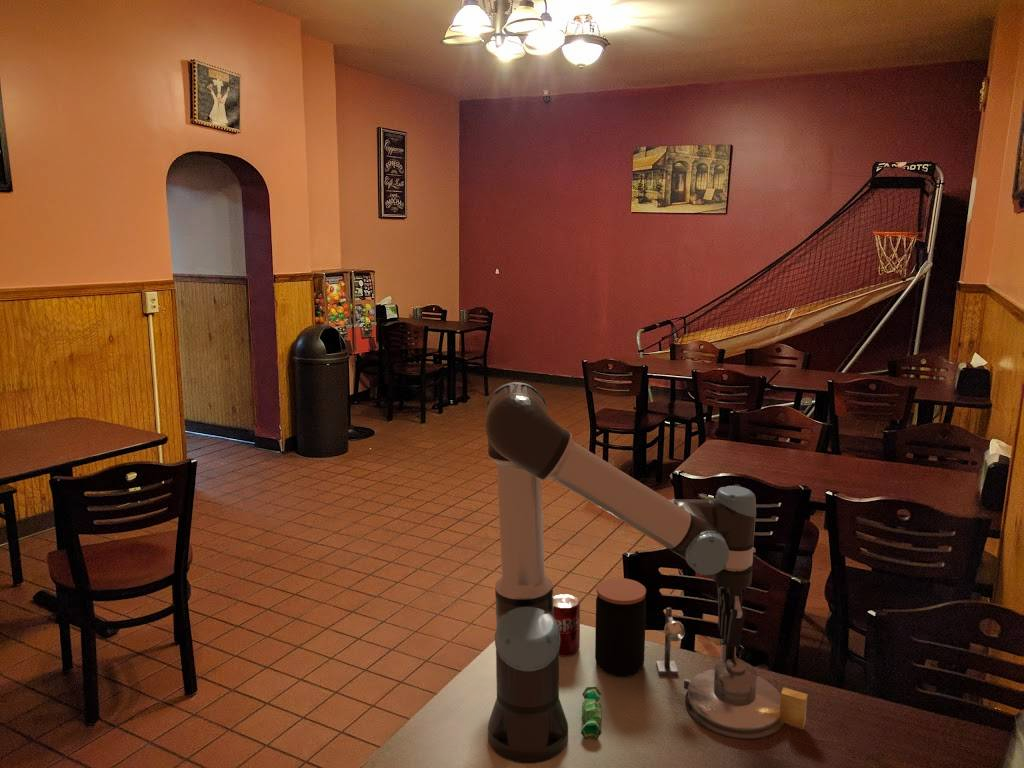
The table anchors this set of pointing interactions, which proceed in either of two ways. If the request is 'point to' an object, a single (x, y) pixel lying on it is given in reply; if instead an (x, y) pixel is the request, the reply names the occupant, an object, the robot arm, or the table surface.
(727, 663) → the cover
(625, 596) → the coffee jar
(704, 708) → the turntable
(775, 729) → the turntable base
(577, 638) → the soda can
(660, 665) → the dial stand
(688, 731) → the table surface
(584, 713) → the candy
